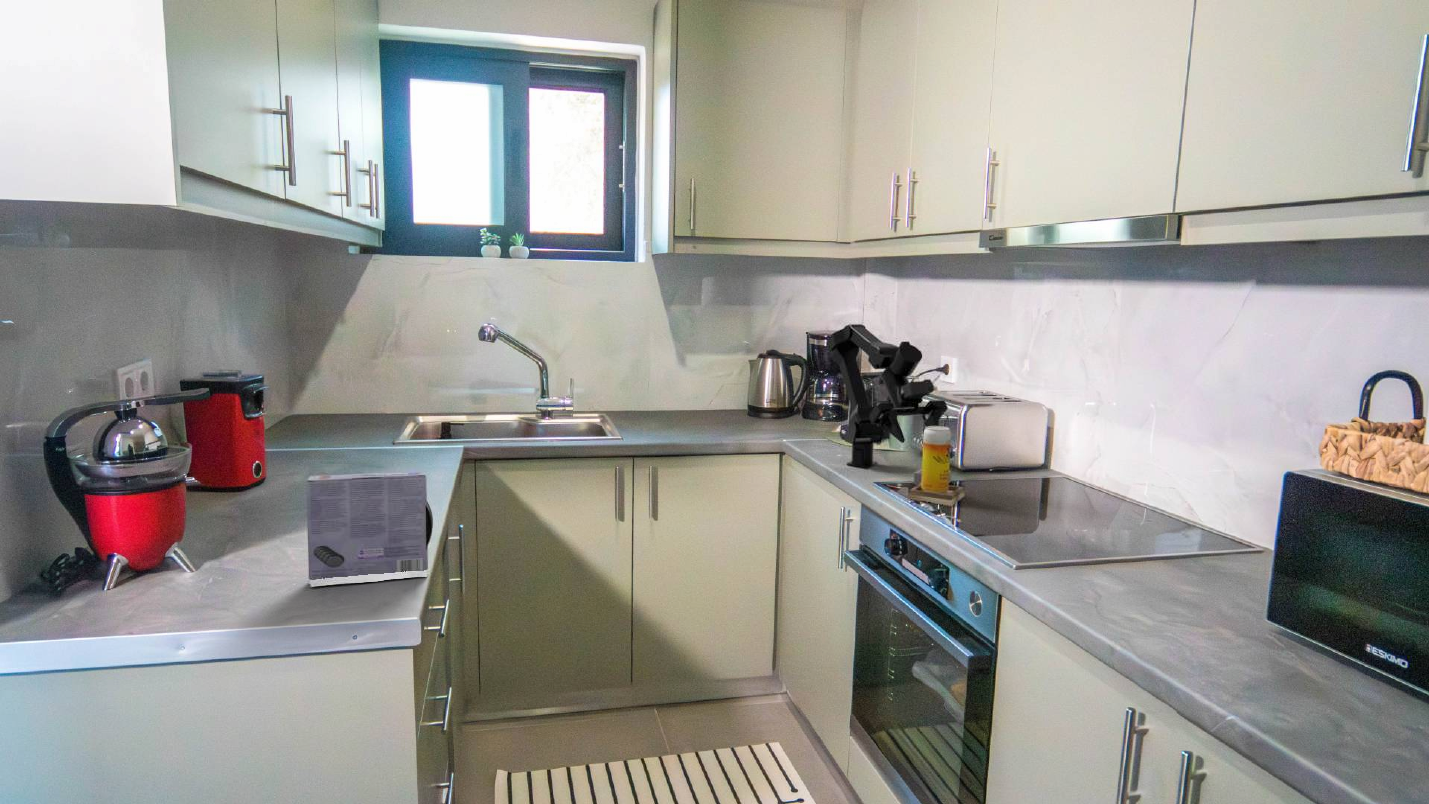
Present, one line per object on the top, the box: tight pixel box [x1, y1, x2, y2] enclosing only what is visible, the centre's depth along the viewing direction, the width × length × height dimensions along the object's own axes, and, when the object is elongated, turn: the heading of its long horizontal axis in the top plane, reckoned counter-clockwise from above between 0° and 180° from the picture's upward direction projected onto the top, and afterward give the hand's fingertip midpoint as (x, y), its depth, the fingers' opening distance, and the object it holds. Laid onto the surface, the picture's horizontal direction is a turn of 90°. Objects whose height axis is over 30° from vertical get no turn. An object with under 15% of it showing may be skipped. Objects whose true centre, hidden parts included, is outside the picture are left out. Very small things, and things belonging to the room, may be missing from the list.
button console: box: [913, 468, 952, 486], centre depth 212 cm, size 7×7×3 cm
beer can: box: [921, 425, 952, 494], centre depth 198 cm, size 6×6×15 cm
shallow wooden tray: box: [907, 483, 965, 507], centre depth 198 cm, size 10×10×2 cm
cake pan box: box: [306, 471, 434, 580], centre depth 142 cm, size 19×5×18 cm, turn 109°
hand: (920, 441), depth 204 cm, fingers open, 9 cm apart
